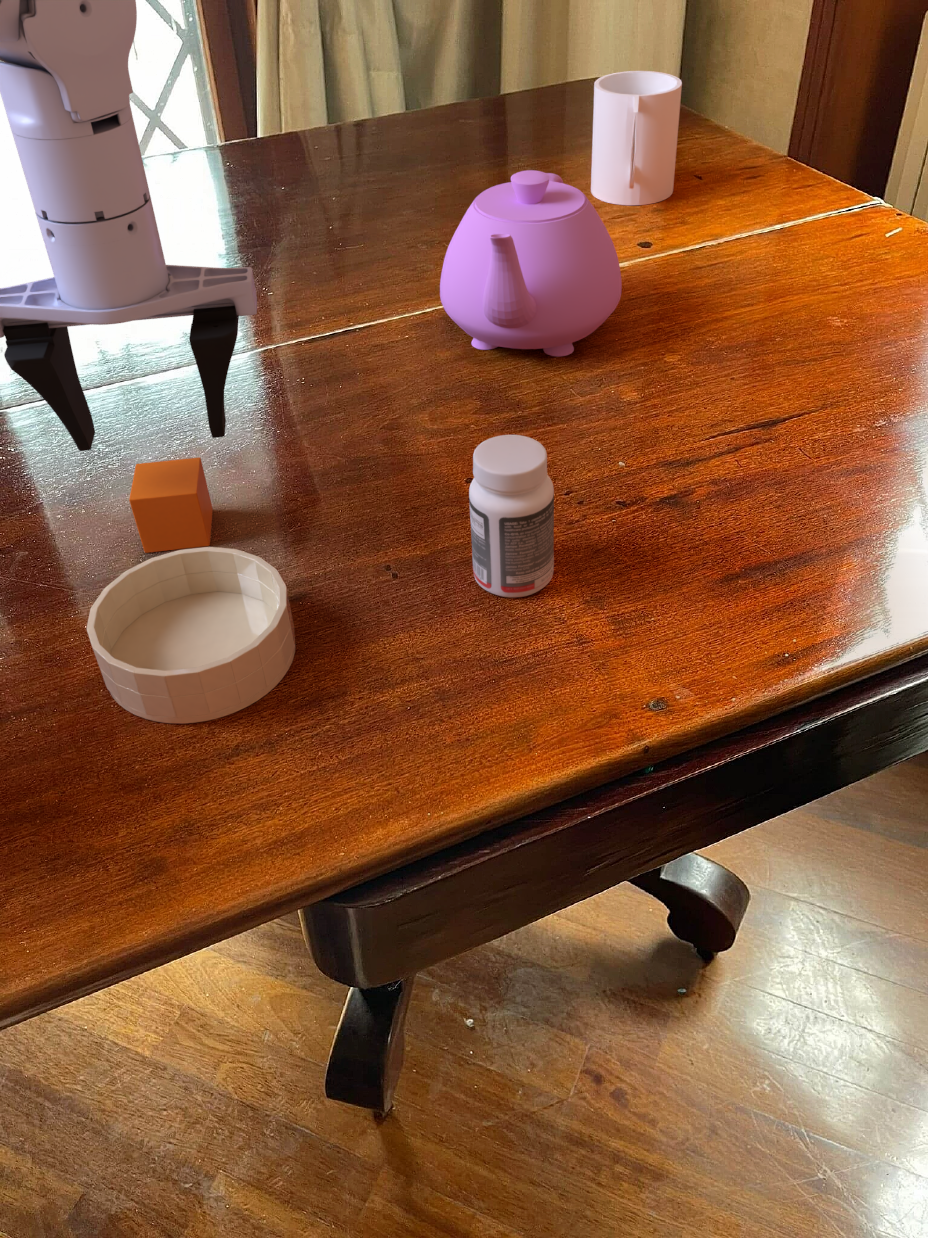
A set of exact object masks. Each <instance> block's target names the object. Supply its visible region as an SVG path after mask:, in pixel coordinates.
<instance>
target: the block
mask: <svg viewBox="0 0 928 1238" xmlns="http://www.w3.org/2000/svg"><path fill="white" fill-rule="evenodd" d="M206 478H207V477H206V473H205V471H204V467H203V462H202V458H201V457H200V456H199V457H191V458H189V457H188V458H180V459H171V460H160V461H152V462H141V463H136V464H135V467H134V472H133V478H132V484H131V488H130V494H129V498H128V499H129V500H128V501H129V505H130V508H131V511H132V514H133V518H134V521H135V525H136V528H137V531H138V535H139V538H140V542H141V546H142V548H143V551H144V553H145V554H148V553H157V552H166V551H177V550H183V549H192V548H201V547H210V545H211V534H212V525H213V524H212V523H213V513H214V512H213V510H214V508H213V504H212V500H211V495H210V490H209V488H208V483H207V479H206Z"/></svg>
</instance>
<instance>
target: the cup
mask: <svg viewBox="0 0 928 1238" xmlns="http://www.w3.org/2000/svg"><path fill="white" fill-rule="evenodd" d="M593 84H594V85H593V115H592V143H591V169H590V170H591V171H590V173H591V174H590V193H591V195H592V196H593V197H594V198H596V199H597V200H599V201H601V202H604V203H609V204H613V205H618V206H644V205H652V204H656V203H659V202H663V201H665V200H666V199H668V198H670V197H671V196H672V194H673V193H674V185H675V184H674V183H675V171H676V162H677V161H676V159H677V148H678V147H677V146H678V137H679V136H678V135H679V123H680V112H681V99H682V98H681V97H682V86H683V82H682V79H680V78H679V77H678V76H675V75H673V74H670V73H666V72H661V71H653V70H626V71H618V72H612V73H609V74H605V75H602V76H600V77H599V78H597V79H596V80H595V81H594V83H593Z"/></svg>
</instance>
